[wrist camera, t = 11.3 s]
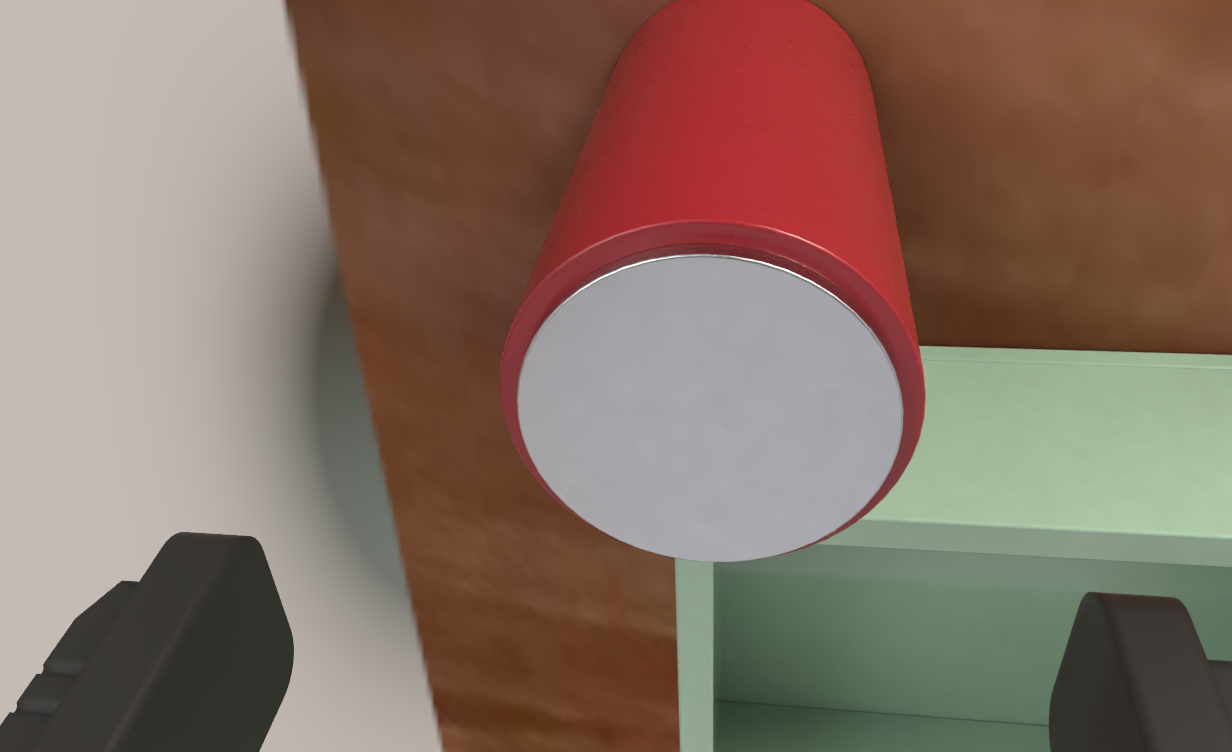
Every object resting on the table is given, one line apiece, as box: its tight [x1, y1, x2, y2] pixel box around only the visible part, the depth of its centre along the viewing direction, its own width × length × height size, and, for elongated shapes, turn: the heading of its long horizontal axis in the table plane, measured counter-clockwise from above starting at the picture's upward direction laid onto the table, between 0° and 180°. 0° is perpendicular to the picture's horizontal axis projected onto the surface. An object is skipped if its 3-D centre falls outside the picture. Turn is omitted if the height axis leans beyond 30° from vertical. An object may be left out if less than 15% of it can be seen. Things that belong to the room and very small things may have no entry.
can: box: [499, 0, 926, 562], centre depth 18 cm, size 6×6×10 cm
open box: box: [674, 346, 1232, 752], centre depth 26 cm, size 14×16×6 cm
